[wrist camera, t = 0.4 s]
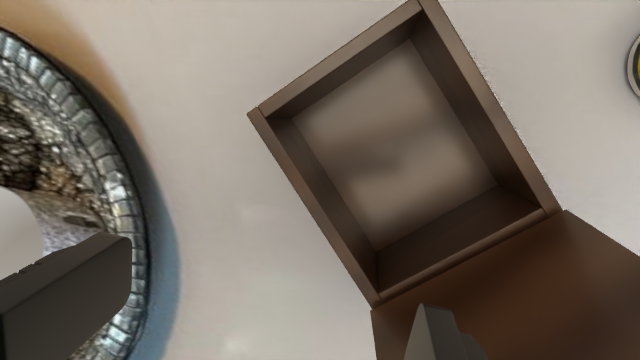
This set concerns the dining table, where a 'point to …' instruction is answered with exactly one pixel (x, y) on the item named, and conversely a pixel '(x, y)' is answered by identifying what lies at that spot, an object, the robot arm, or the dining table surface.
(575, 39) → the dining table surface
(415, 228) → the chest
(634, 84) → the pill bottle
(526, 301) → the lid
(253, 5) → the dining table surface
